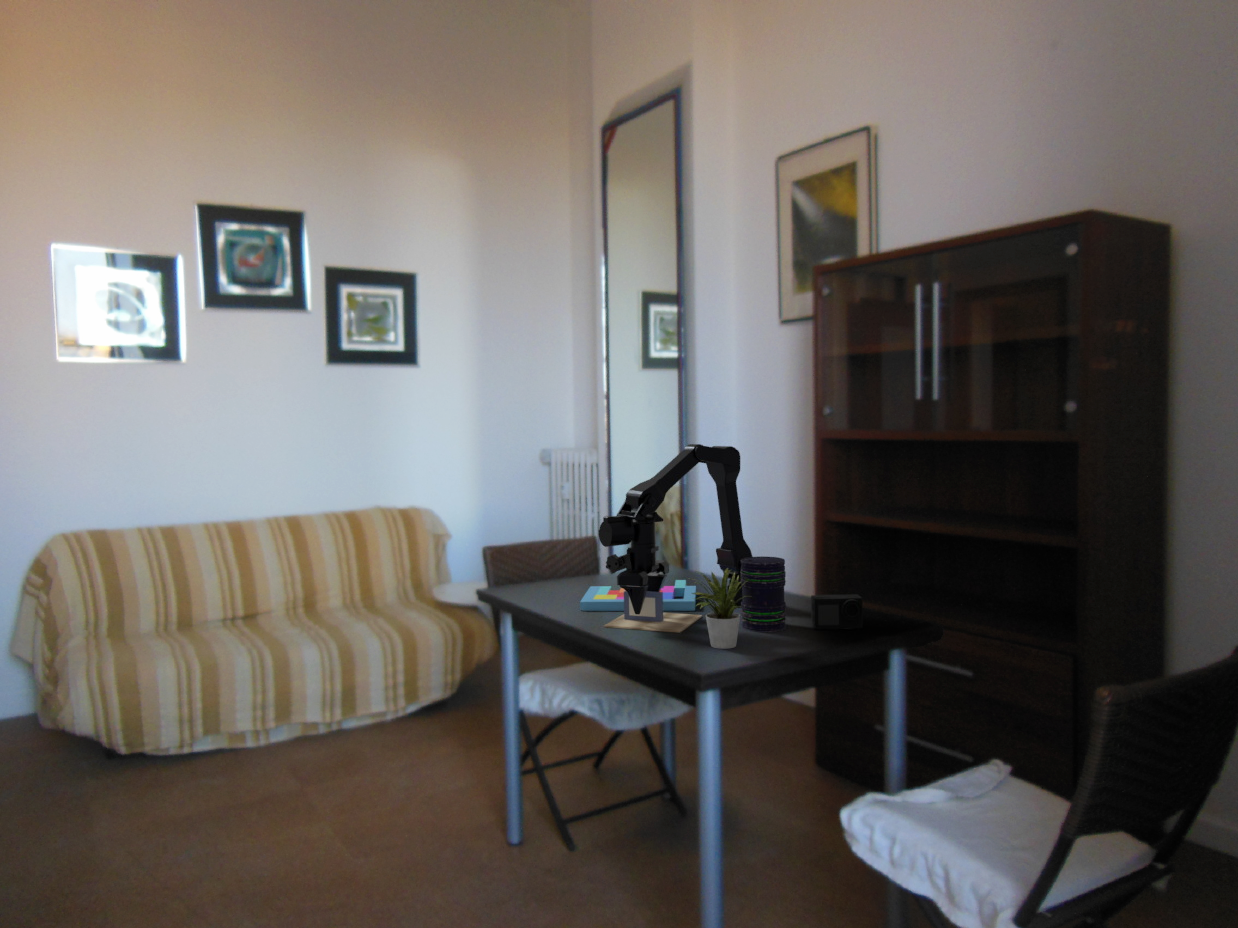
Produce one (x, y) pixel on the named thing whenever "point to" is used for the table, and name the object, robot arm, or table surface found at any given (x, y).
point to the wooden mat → (657, 623)
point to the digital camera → (836, 611)
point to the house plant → (721, 611)
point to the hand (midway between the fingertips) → (644, 609)
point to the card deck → (645, 607)
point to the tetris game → (614, 599)
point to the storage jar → (763, 594)
